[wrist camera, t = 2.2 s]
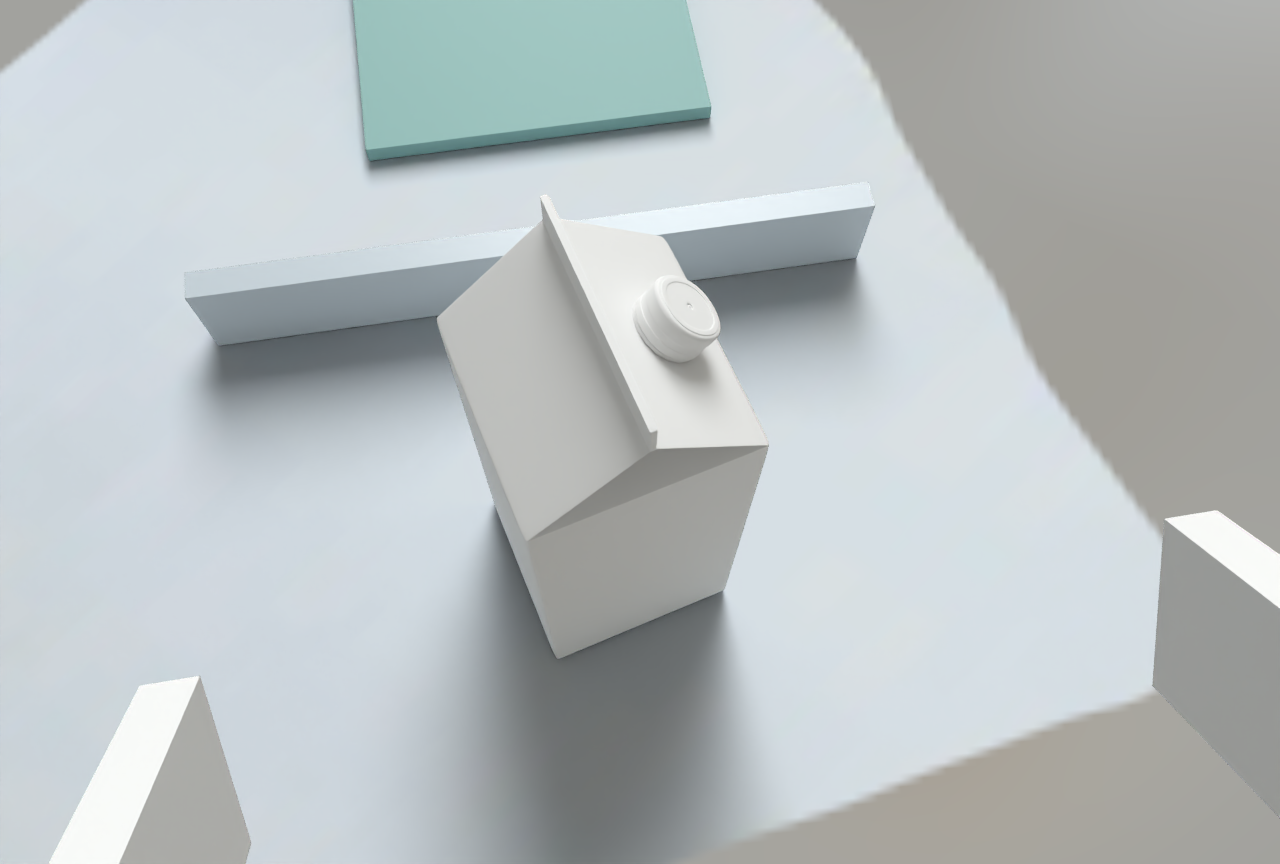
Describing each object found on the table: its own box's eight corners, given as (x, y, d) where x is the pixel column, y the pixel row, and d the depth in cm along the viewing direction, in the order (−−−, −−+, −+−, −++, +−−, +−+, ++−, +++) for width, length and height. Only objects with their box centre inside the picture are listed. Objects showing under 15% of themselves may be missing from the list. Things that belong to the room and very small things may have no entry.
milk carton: (557, 662, 43) (509, 488, 25) (492, 499, 45) (409, 239, 28) (726, 591, 44) (793, 378, 26) (654, 437, 46) (672, 149, 29)
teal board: (369, 160, 52) (365, 149, 51) (347, -92, 58) (343, -105, 57) (710, 117, 53) (711, 106, 52) (652, -125, 59) (653, -138, 58)
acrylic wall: (218, 345, 48) (184, 298, 44) (218, 321, 48) (184, 272, 44) (856, 257, 50) (875, 205, 46) (850, 235, 50) (868, 181, 47)
